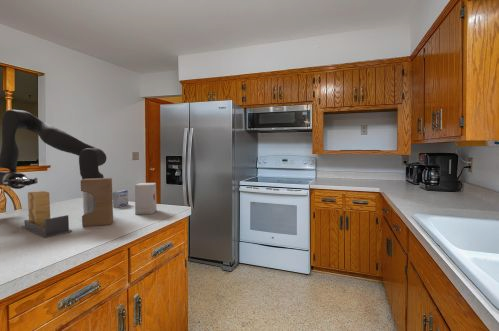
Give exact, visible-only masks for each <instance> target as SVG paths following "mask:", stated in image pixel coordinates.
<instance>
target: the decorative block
mask: <svg viewBox="0 0 499 331" xmlns="http://www.w3.org/2000/svg"><path fill="white" fill-rule="evenodd" d="M80 191H81V192H82V193H83V192H88V193H90V194H91V195H92V196H93V197H94V198H95V199H96V207H95V208H94V210H93V211H92V212H88V213H86V214H84V213H83V215H82V216H81V222H82V223H81V225H82V226H81V227H83V228H85V227H87V228H88V227H97V226H111V225H112V224H113V222H114V207H113V194H112V192H113V178H112V177H104V178H92V179H83V180H82V179H81V180H80Z"/></svg>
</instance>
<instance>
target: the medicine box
mask: <svg viewBox="0 0 499 331" xmlns="http://www.w3.org/2000/svg"><path fill="white" fill-rule="evenodd" d="M112 199H113V208H121V207H120V206H122V207H124V206H123V205H125V204H128V205H129V191H128V190H127V189H122V190H121V189H120V190H117V191H112ZM125 206H126V205H125Z"/></svg>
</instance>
